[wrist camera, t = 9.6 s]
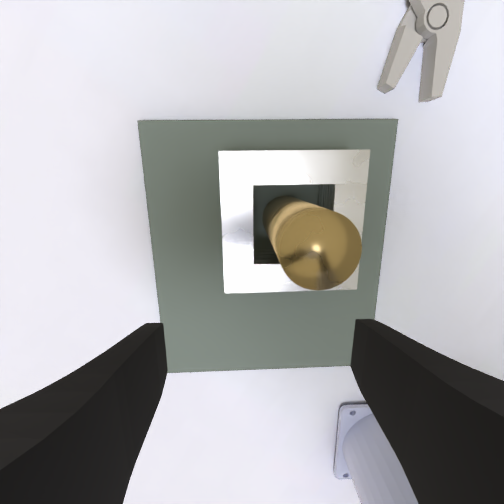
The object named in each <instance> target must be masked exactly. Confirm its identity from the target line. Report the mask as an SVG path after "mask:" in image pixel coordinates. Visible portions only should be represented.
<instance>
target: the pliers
mask: <svg viewBox="0 0 504 504" xmlns="http://www.w3.org/2000/svg"><path fill="white" fill-rule="evenodd" d="M464 1H465V0H409V2H410V6H409V8H408V9H407V11H406V13H405V15H404V17H403V19H402V21H401V22H400V24H399V26H398V28H397V30H396V33H395V36H394V39H393V42H392V45H391V48H390V51H389V54H388V57H387V60H386V63H385V66H384V69H383V72H382V75H381V78H380V80H379V83H378V86H377V89H378V90H379V91H381V92H383V93H384V94H385V93H387V92H389V91H391V90H393V89H394V88H395V87H396V85H397V83H398V81H399V79H400V78H401V76H402V74H403V72H404V71H405V69H406V67H407V65H408V63H409V62H410V60H411V58H412V56H413V55H414V53H415V51H416V49H417V47H418V46H419V44H420V43H425V42H426V43H425V44H424V46H423V59H422V70H421V81H420V91H419V102H428V101H431V100H434V99H436V98H439V97H442V93H443V90H444V86H445V83H446V80H447V76H448V73H449V69H450V66H451V62H452V59H453V56H454V52H455V49H456V45H457V42H458V38H459V35H460V31H461V23H462V14H463V6H464Z"/></svg>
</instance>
